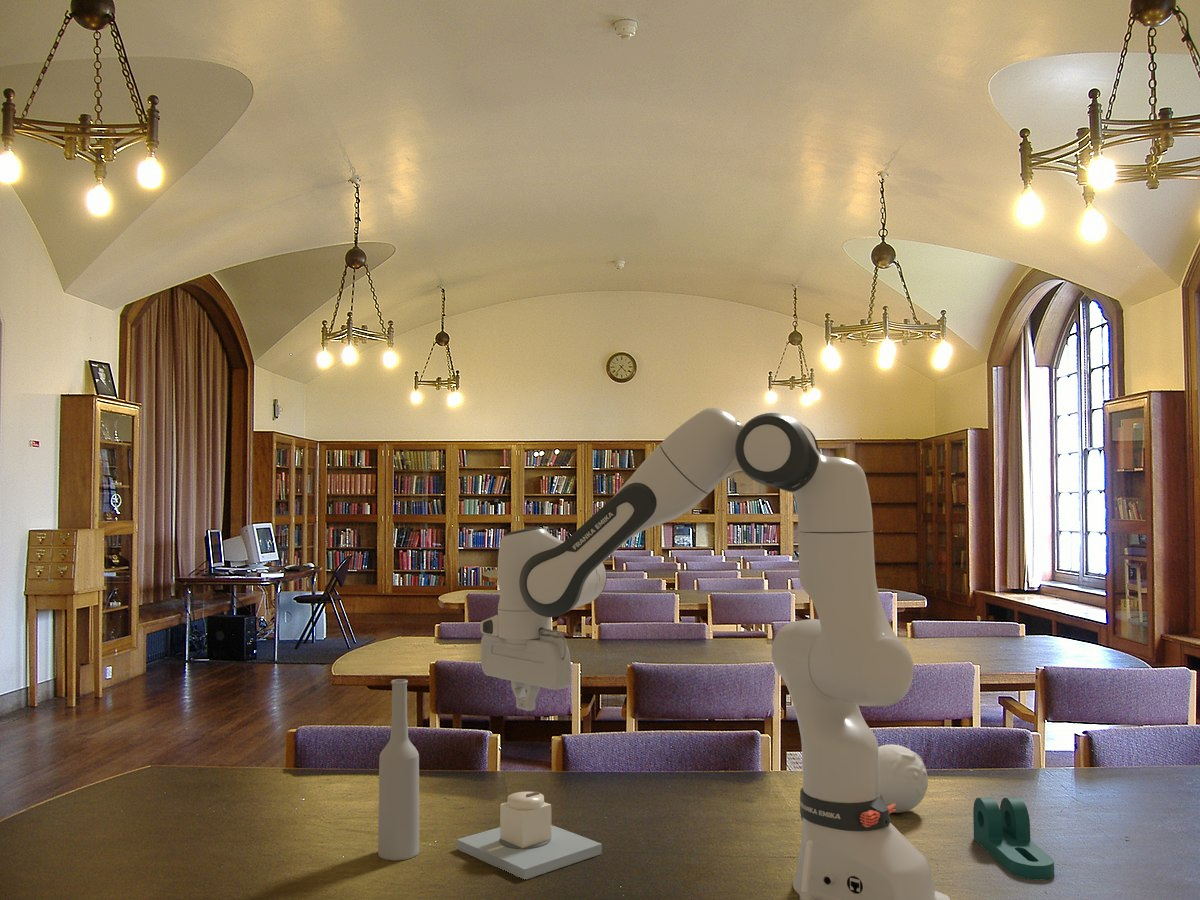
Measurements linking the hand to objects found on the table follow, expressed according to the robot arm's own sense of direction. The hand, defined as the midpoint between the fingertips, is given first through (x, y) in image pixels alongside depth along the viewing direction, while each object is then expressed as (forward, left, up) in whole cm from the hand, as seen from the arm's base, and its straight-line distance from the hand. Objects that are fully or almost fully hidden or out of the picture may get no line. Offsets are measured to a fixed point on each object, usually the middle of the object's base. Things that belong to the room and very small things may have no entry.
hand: (525, 709), depth 165 cm
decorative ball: (-31, -62, -23) cm, 73 cm away
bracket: (-57, -55, -23) cm, 82 cm away
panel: (-1, 0, -23) cm, 23 cm away
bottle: (+13, +16, -23) cm, 31 cm away
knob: (0, 0, -21) cm, 21 cm away
